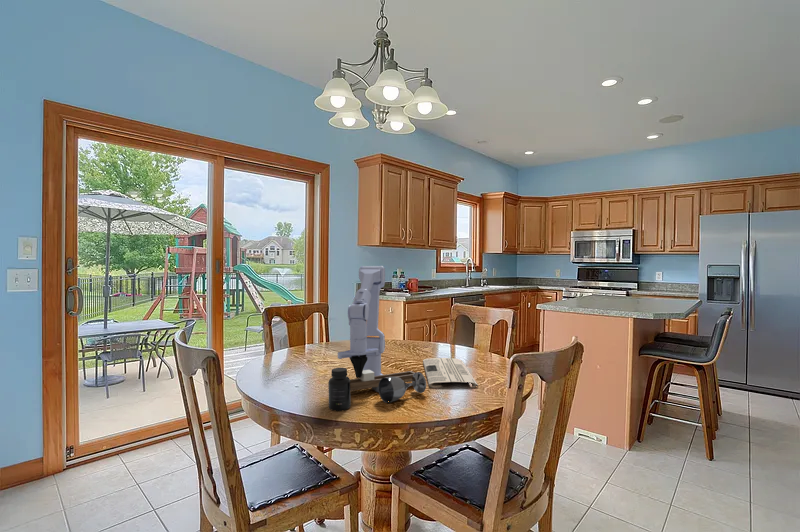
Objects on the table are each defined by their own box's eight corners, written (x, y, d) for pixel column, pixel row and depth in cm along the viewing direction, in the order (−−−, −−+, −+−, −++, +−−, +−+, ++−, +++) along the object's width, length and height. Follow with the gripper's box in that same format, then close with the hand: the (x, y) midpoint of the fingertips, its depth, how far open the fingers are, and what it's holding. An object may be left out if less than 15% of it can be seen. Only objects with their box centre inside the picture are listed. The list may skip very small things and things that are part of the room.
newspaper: (422, 364, 182) (422, 357, 182) (465, 364, 182) (465, 357, 182) (429, 389, 146) (429, 381, 146) (482, 389, 146) (482, 381, 146)
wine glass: (424, 398, 138) (391, 407, 128) (409, 387, 144) (376, 395, 134) (429, 376, 136) (395, 384, 126) (413, 367, 142) (380, 373, 132)
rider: (359, 381, 143) (359, 370, 143) (369, 380, 145) (369, 369, 145) (363, 384, 139) (363, 373, 139) (374, 383, 141) (374, 372, 141)
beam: (340, 392, 140) (340, 380, 140) (410, 381, 153) (410, 370, 153) (346, 397, 135) (346, 385, 135) (418, 385, 148) (418, 374, 148)
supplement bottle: (329, 404, 129) (329, 366, 129) (351, 403, 129) (350, 366, 129) (327, 412, 122) (327, 372, 122) (350, 411, 123) (350, 371, 122)
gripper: (342, 342, 133) (342, 382, 133) (382, 338, 140) (382, 377, 140) (335, 338, 140) (335, 377, 140) (374, 335, 146) (374, 372, 146)
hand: (358, 377), depth 140 cm, fingers closed
